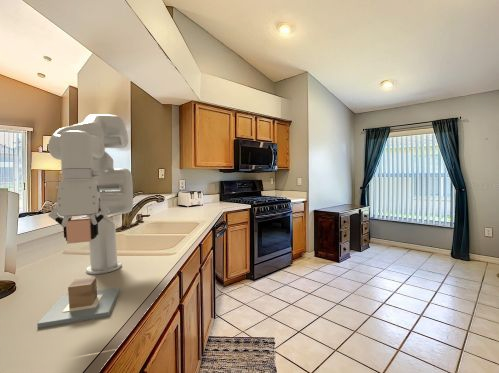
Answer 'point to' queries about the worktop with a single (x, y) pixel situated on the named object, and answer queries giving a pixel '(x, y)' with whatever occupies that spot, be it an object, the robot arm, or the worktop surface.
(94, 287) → the walnut block
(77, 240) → the terracotta block
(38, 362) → the worktop surface
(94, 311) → the baseplate
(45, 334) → the worktop surface
